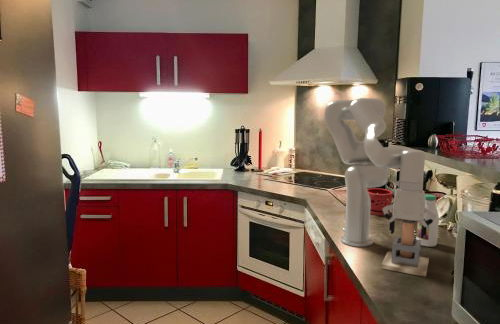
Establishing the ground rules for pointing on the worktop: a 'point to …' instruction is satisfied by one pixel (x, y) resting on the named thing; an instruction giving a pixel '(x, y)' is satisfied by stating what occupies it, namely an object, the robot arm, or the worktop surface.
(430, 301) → the worktop surface
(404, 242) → the peg
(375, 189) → the plant pot
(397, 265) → the collar stand
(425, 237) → the milk bottle
